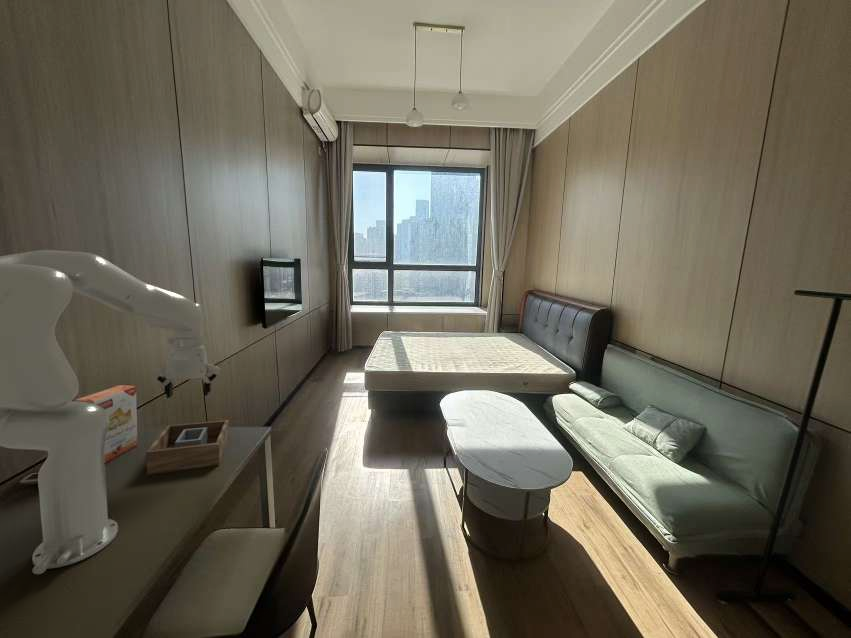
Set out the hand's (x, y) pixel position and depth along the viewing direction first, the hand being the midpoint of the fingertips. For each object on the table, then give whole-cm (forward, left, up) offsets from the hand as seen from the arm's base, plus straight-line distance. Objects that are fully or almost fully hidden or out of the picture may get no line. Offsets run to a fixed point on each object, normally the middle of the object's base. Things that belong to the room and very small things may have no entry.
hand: (188, 395), depth 104 cm
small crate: (0, -1, -19) cm, 19 cm away
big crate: (+1, -1, -20) cm, 20 cm away
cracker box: (+7, +22, -21) cm, 31 cm away
